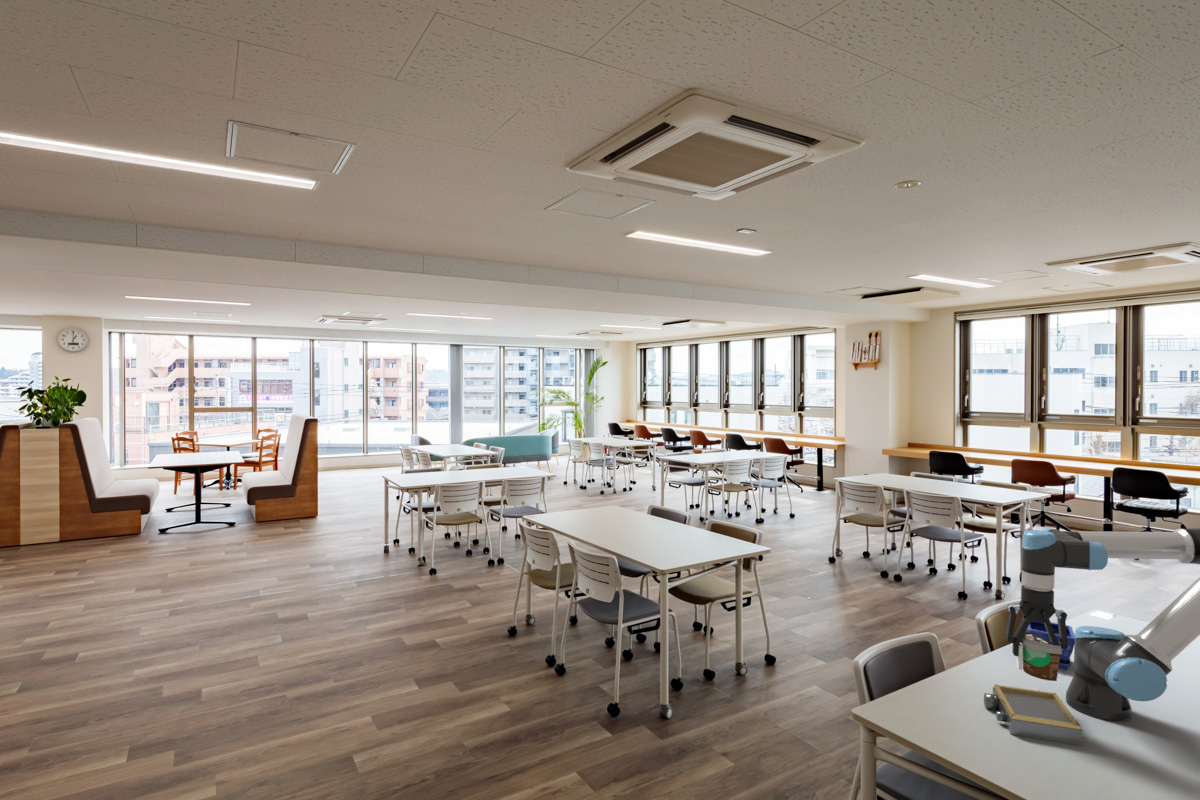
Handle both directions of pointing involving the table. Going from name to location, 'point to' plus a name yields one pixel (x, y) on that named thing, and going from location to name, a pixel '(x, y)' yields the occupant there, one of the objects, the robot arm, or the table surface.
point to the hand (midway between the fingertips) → (1035, 669)
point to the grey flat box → (1034, 714)
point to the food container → (1040, 657)
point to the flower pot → (1066, 653)
